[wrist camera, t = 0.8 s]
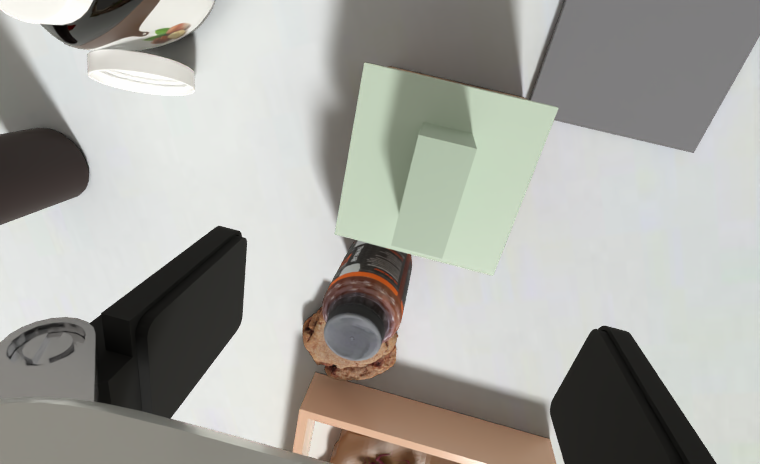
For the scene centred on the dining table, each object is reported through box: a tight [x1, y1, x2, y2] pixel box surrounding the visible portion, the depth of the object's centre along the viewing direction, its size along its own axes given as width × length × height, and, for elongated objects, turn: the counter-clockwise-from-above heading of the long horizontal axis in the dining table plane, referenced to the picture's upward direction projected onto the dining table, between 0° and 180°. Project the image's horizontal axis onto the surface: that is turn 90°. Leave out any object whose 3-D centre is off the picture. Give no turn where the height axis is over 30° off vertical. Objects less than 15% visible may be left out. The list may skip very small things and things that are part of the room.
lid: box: [335, 62, 559, 276], centre depth 22 cm, size 11×11×6 cm
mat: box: [529, 0, 760, 153], centre depth 26 cm, size 12×12×1 cm
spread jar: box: [0, 0, 215, 96], centre depth 25 cm, size 12×11×12 cm
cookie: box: [303, 307, 398, 381], centre depth 39 cm, size 10×11×3 cm
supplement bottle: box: [322, 240, 412, 361], centre depth 31 cm, size 6×6×11 cm
